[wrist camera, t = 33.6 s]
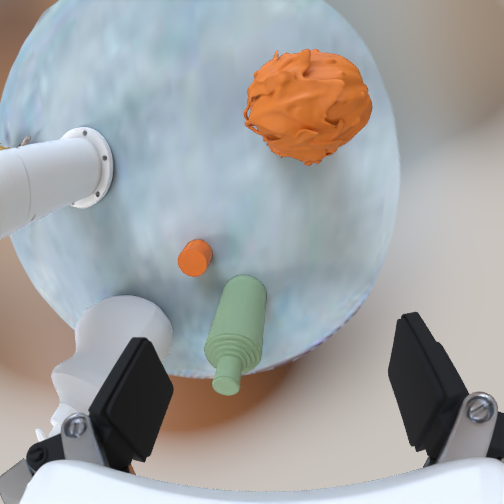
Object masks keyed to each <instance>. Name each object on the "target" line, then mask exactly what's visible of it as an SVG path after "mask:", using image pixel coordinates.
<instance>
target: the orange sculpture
mask: <svg viewBox="0 0 504 504" xmlns="http://www.w3.org/2000/svg"><path fill="white" fill-rule="evenodd" d="M254 77H255V79H254V81H253V83H252V84H251V85H250V86H249V88H248V99H247V108H246V109H245V110H244V117H245V119H246V122H245V126H246V127H248V128H249V129H251V130H252V131H254V132H255V133H257V134H259V135H262V136H263V141H266V142H267V145H269V147H270V149H271V151H272V152H274V153H275V154H277V155H279V156H281V158H282V157H293V158H295V159H298V160H300V161H302V162H304V165H308V166H310V165H311V164H312V163H316V164H319V163H320V162H321V161H322V159H323V158H325V157H326V156H329V155H332V154H333V153H334V152H335V151H336V150H337V148H338V147H340V146H342V145H344V144H346V143H347V142H348V141H350V140H351V139H352V138H353V137H354V136H355V135H356V134H357V133H358V132H359V131H360V130H361V129H362V128H363V127H364V126H365V125H366V124H367V122H368V120H369V118H370V115H371V111H372V102H371V99H370V97H369V94H368V88H367V86H366V85H365V84H364V83H363V80H362V77H361V74H360V72H359V70H358V68H357V67H356V66H355V65H354V64H353V63H351V62H350V61H349V60H347V59H346V58H344V57H342V56H340V55H336V54H330V53H321V52H319V50H317V49H313V50H312V51H310V50H309V49H305V50H302V51H301V52H300V53H294V54H289V53H284V54H283V55H282V56H280V57H279V58H278V50H277V51H276V52H275V55H274V58H273V59H272V60H270V61H269V62H267V63H266V64H265V65H263V66H262V67H261V69H260V70H259V71H256V72H255V73H254ZM249 107H250V109H251V113H250V116H249V118H248V117H247V111H248V109H249ZM251 126H256V127H257V130H256V129H255V128H254V127H251Z"/></svg>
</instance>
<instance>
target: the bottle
mask: <svg viewBox="0 0 504 504" xmlns="http://www.w3.org/2000/svg"><path fill="white" fill-rule="evenodd" d="M265 308H266V289H265V287H264V285H263V284H262V283H261V282H260V281H259V280H258V279H256V278H254V277H252V276H247V275H240V276H236V277H233V278H232V279H230V280H229V281H228V282H227V283H226V285H225V287H224V290H223V293H222V296H221V298H220V301H219V304H218V307H217V310H216V313H215V316H214V319H213V322H212V325H211V328H210V331H209V334H208V337H207V340H206V343H205V347H204V351H205V355H206V357H207V359H208V361H209V362H210V364H211V365H212V366H214V367H215V368H216V373H215V377H214V379H213V382H212V385H213V388H214V390H215V391H216V392H218V393H220V394H223V395H233V394H236V393H237V392H239V390H240V379H241V374H243V373H247V372H249V371H251V370H252V369H254V368H255V367H256V366H257V365H258V364H259V362H260V360H261V355H262V343H263V332H264V320H265Z"/></svg>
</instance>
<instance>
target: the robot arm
mask: <svg viewBox="0 0 504 504" xmlns="http://www.w3.org/2000/svg"><path fill="white" fill-rule="evenodd" d="M112 176H113V158H112V153H111V150H110V147H109V145H108V143H107V141H106V140H105V138H104V137H103V136H102V135H101V134H100V133H99V132H98V131H96V130H94V129H92V128H88V127H79V128H74V129H72V130H70V131H68V132H67V133H66V134H64V135H63V136H62V138H61V139H60V140H55V141H48V142H42V143H36V144H30V145H24V146H19V147H14V148H10V149H5V150H0V240H1V239H3V238H4V237H6V236H8V235H10V234H11V233H13V232H15V231H17V230H19V229H21V228H23V227H24V226H26V225H28V224H30V223H32V222H34V221H36V220H38V219H40V218H42V217H44V216H46V215H48V214H50V213H53V212H55V211H57V210H59V209H61V208H63V207H65V206H68V205H71V206H73V207H76V208H87V207H90V206H92V205H94V204H96V203H98V202H99V201H100V200H101V199H102V198H103V197H104V196H105V194H106V193H107V191H108V189H109V187H110V184H111V181H112ZM388 376H389V380H390V382H391V385H392V388H393V391H394V394H395V397H396V400H397V403H398V406H399V410H400V413H401V416H402V419H403V422H404V426H405V429H406V432H407V436H408V440H409V443H410V445H411V446H415V449H416V452H419V451H422V450H425V449H426V452H427V455H428V456H429V457H428V459H427V461H426V463H425V464H424V466H423V468H421V469H417V470H413V471H410V472H406V473H403V474H399V475H396V476H391V477H387V478H382V479H378V480H373V481H368V482H364V483H358V484H353V485H346V486H340V487H333V488H324V489H315V490H301V491H281V492H252V491H230V490H218V489H208V488H200V487H192V486H186V485H180V484H174V483H168V482H163V481H159V480H154V479H149V478H145V477H141V476H137V475H136V474H135V472H134V470H133V467H132V465H131V461H132V459H133V460H136V461H141V462H145V461H146V458H147V457H149V456H150V455H151V452H152V449H153V447H154V444H155V441H156V438H157V435H158V433H159V430H160V427H161V424H162V421H163V419H164V416H165V413H166V411H167V408H168V405H169V402H170V400H171V397H172V394H173V385H172V383H171V381H170V379H169V377H168V375H167V373H166V371H165V369H164V367H163V365H162V363H161V361H160V358H159V356H158V354H157V352H156V350H155V348H154V346H153V344H152V342H151V341H149V340H148V339H147V338H146V337H133V338H131V340H130V341H129V343H128V344H127V346H126V347H125V349H124V351H123V352H122V354H121V355H120V357H119V359H118V360H117V362H116V363H115V365H114V367H113V368H112V370H111V372H110V373H109V375H108V377H107V378H106V380H105V382H104V383H103V385H102V387H101V388H100V390H99V392H98V393H97V395H96V397H95V399H94V400H93V402H92V404H91V405H90V407H89V409H88V411H89V415H88V416H87V415H86V414H84V413H73V414H71V415H69V416H68V417H67V418H66V419H65V420H64V421H63V423H62V425H61V433H60V434H57V435H55V436H53V437H50V438H48V439H45V440H43V441H41V442H38V443H36V444H34V445H32V446H31V447H30V448H29V450H28V453H27V456H26V460H25V459H24V458H23V459H22V460H21V461H19V462H18V463H17V464H16V465H14V466H13V467H12V468H10V469H9V470H8V471H6V472H5V473H4V474H2V475H1V476H0V495H1V498H2V500H3V502H4V504H504V413H501V412H498V406H497V403H496V401H495V399H494V398H493V397H492V396H491V395H490V394H487V393H485V392H474V393H472V394H469V393H468V391H467V389H466V387H465V385H464V383H463V381H462V379H461V377H460V376H459V374H458V372H457V370H456V368H455V367H454V365H453V363H452V362H451V360H450V358H449V356H448V354H447V353H446V351H445V350H444V348H443V346H442V345H441V344H440V343H439V342H436V341H435V339H434V337H433V336H432V334H431V332H430V331H429V329H428V328H427V326H426V324H425V323H424V321H423V320H422V318H421V317H420V315H419V314H418V312H412V313H407V314H403V315H402V316H401V319H398V320H397V325H396V331H395V337H394V343H393V348H392V353H391V358H390V363H389V368H388Z"/></svg>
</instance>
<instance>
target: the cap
mask: <svg viewBox="0 0 504 504" xmlns="http://www.w3.org/2000/svg"><path fill="white" fill-rule="evenodd" d="M211 260H212V249H211V247H210V246H209V245H208V244H207V243H206V242H205V241H202V240H193V241H191V242H189V243H188V244H187V245H186V247H185V248H184V249H183V251H182V252H181V253H180V255H179V257H178V265H179V268H180V269H181V271H182V272H183V273H185V274H186V275H188V276H192V277H196V276H200V275H202V274H203V273H204V272H205V270H206V268H207V267H208V265H209V263H210V262H211Z"/></svg>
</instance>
